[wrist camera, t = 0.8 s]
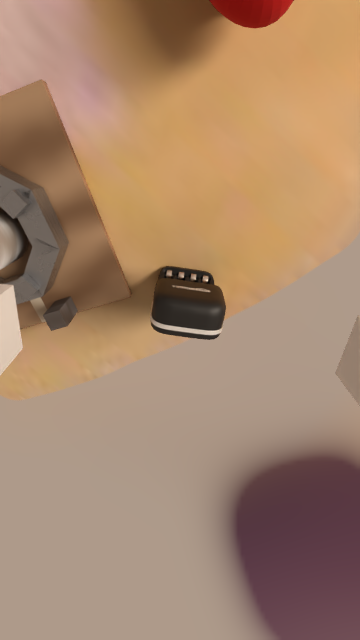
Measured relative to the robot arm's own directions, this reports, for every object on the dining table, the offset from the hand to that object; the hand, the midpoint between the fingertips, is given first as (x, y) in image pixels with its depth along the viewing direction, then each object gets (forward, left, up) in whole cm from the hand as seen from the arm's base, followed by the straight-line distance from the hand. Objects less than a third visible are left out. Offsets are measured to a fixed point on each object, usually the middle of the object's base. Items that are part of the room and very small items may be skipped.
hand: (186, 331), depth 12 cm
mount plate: (-5, -19, -25) cm, 32 cm away
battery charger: (+6, -1, -25) cm, 26 cm away
